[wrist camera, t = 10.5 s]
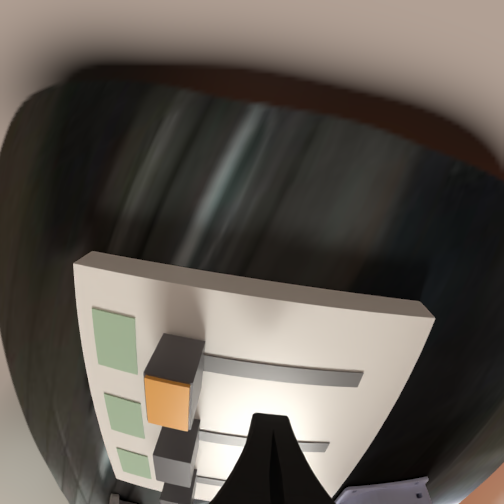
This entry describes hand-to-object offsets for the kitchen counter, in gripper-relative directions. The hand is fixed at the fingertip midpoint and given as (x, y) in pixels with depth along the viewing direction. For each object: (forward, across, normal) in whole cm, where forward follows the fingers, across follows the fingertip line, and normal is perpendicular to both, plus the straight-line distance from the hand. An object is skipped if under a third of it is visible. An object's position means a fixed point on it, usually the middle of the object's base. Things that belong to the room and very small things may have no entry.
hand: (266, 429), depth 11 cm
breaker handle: (+4, +4, 0) cm, 5 cm away
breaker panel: (+6, +1, +6) cm, 8 cm away
